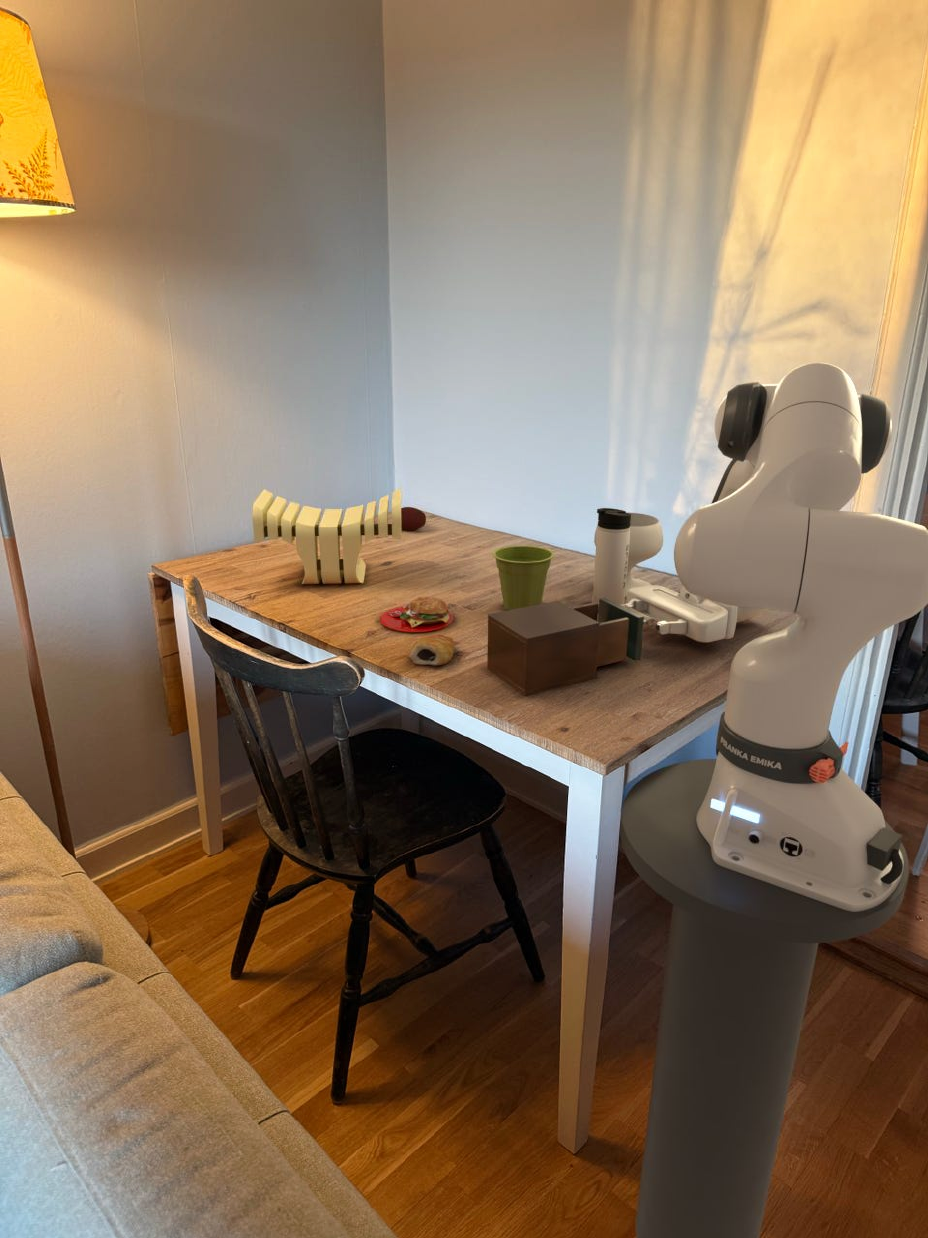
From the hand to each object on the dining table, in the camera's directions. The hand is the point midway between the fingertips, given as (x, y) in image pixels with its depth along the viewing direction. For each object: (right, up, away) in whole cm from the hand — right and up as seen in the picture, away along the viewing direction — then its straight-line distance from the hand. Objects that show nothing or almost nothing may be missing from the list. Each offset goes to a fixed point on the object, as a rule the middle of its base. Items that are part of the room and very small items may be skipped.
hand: (640, 619), depth 142 cm
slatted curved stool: (-59, +9, +39) cm, 71 cm away
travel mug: (-2, +2, +21) cm, 22 cm away
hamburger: (-39, 0, +15) cm, 42 cm away
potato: (-45, +23, +75) cm, 91 cm away
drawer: (-7, -6, -2) cm, 9 cm away
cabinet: (-18, -9, -7) cm, 21 cm away
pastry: (-36, -7, -1) cm, 36 cm away
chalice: (+4, +6, +32) cm, 33 cm away
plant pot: (-19, +2, +21) cm, 28 cm away
